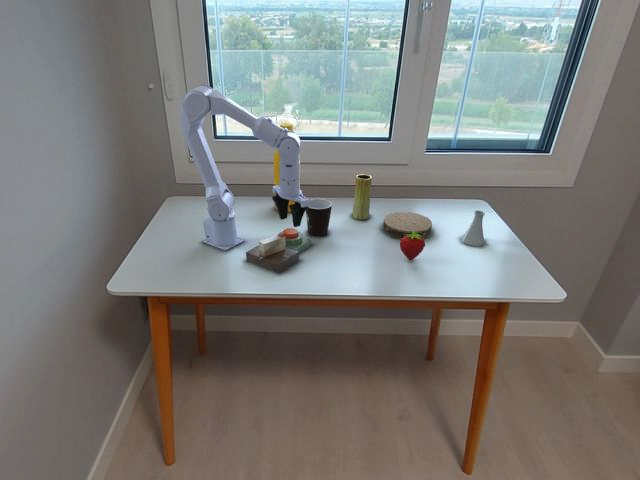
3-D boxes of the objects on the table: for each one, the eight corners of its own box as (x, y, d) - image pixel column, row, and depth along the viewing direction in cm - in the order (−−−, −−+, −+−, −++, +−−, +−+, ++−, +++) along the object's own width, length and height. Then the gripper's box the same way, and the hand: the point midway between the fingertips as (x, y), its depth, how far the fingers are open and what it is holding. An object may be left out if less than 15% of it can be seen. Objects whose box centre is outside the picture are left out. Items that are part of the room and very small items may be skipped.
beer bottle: (292, 214, 159) (292, 129, 142) (270, 209, 162) (266, 125, 145) (304, 206, 166) (305, 123, 149) (282, 201, 169) (281, 120, 152)
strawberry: (394, 255, 135) (399, 225, 130) (418, 254, 136) (424, 224, 131) (400, 265, 131) (405, 234, 125) (425, 264, 132) (431, 233, 126)
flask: (485, 239, 147) (493, 210, 141) (482, 248, 141) (490, 218, 135) (463, 234, 149) (469, 206, 143) (459, 243, 143) (465, 214, 138)
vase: (372, 215, 160) (376, 176, 152) (364, 221, 156) (367, 181, 148) (357, 211, 163) (360, 172, 155) (348, 217, 158) (351, 177, 150)
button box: (269, 245, 139) (269, 235, 137) (285, 236, 144) (285, 226, 142) (295, 254, 134) (295, 244, 132) (311, 245, 140) (311, 234, 138)
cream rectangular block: (264, 257, 126) (263, 243, 124) (259, 253, 128) (258, 240, 125) (285, 249, 130) (285, 236, 128) (280, 246, 132) (280, 233, 129)
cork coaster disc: (373, 227, 152) (374, 219, 150) (404, 216, 160) (405, 208, 159) (409, 244, 142) (411, 236, 140) (440, 231, 151) (442, 223, 149)
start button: (280, 236, 137) (280, 231, 136) (289, 231, 140) (289, 226, 139) (291, 240, 135) (291, 235, 134) (300, 235, 138) (300, 230, 137)
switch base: (243, 262, 129) (243, 252, 128) (269, 247, 138) (269, 238, 136) (276, 275, 124) (275, 265, 122) (301, 259, 132) (301, 249, 130)
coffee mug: (328, 239, 143) (329, 210, 137) (301, 236, 144) (302, 207, 139) (334, 225, 152) (335, 196, 147) (309, 222, 154) (310, 194, 148)
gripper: (317, 182, 125) (315, 227, 133) (285, 168, 134) (286, 211, 142) (297, 187, 121) (297, 233, 129) (266, 173, 130) (267, 217, 138)
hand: (290, 222), depth 135 cm, fingers open, 6 cm apart
